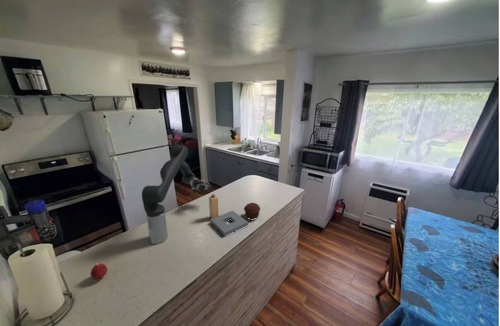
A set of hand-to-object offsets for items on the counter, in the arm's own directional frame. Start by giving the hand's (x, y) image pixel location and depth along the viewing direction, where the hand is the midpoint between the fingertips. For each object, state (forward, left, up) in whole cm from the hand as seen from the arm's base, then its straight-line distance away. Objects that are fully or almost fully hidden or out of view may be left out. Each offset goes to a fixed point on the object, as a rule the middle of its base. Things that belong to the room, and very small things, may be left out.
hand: (205, 191), depth 138 cm
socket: (+4, -24, -16) cm, 29 cm away
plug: (0, -11, -16) cm, 20 cm away
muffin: (+22, -26, -17) cm, 38 cm away
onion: (-64, -23, -17) cm, 70 cm away
